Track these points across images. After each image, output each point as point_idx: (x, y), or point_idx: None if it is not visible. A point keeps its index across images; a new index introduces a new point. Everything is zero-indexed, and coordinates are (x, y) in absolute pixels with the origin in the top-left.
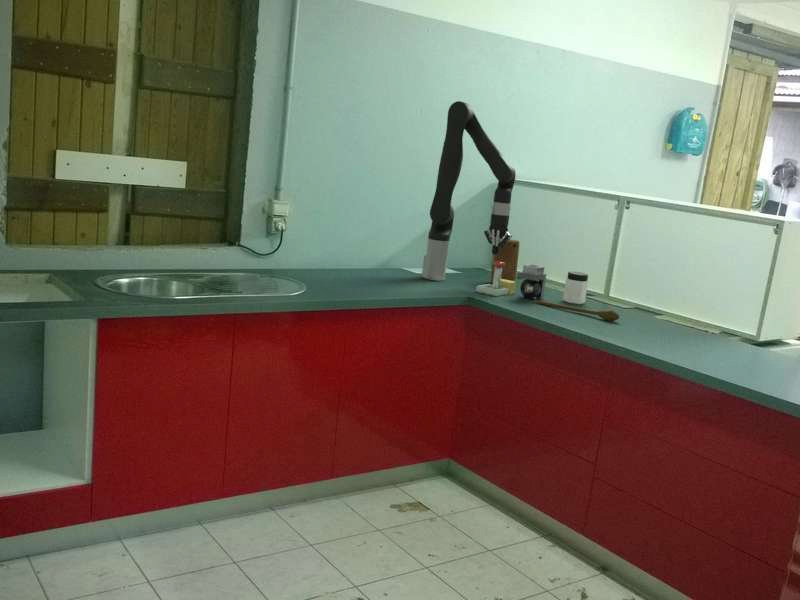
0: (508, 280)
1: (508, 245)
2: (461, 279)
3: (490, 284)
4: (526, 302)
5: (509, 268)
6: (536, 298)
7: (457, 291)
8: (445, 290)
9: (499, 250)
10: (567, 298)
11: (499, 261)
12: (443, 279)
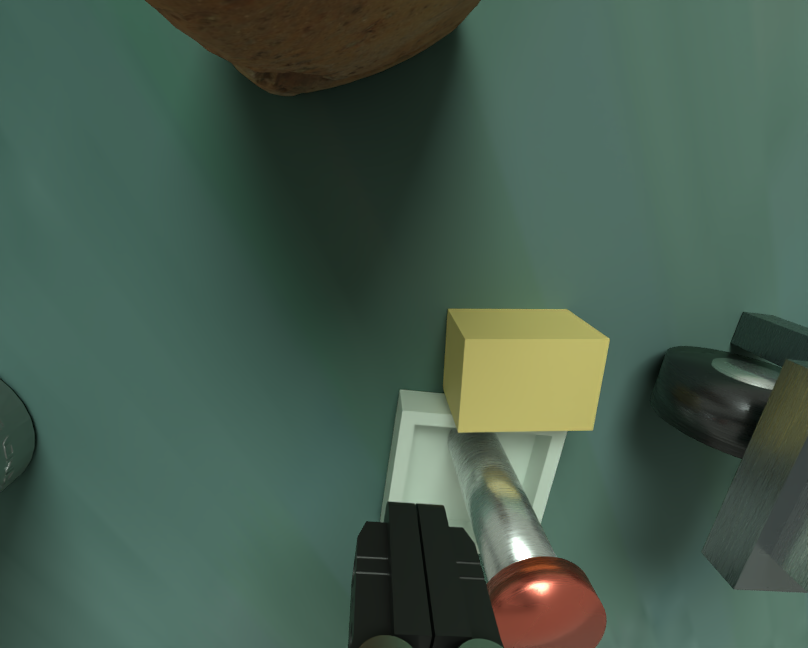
0: (542, 353)
1: None
2: (28, 202)
3: (416, 421)
4: (698, 503)
5: (443, 4)
6: (734, 343)
7: (316, 609)
8: (265, 645)
9: (483, 580)
10: None
11: (529, 593)
12: (26, 425)
